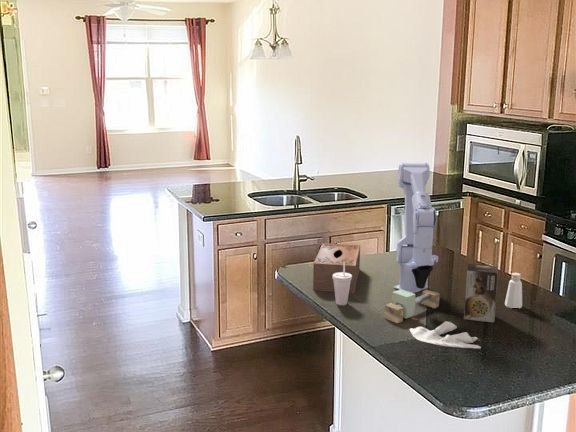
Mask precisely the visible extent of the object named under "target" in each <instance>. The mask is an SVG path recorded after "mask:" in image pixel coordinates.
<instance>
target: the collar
mask: <svg viewBox="0 0 576 432" xmlns="http://www.w3.org/2000/svg"><path fill="white" fill-rule="evenodd" d="M415 298H416V293H411V292H408V291H405V290H402V289H400V290H399V289H396V290H395V291H392V296H391V303H392V304H394V305H398V304H402V305H403V319H410V318H409V317H414V316H415V308H416V307H415V306H416V305H415Z"/></svg>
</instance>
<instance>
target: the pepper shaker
mask: <svg viewBox="0 0 576 432" xmlns="http://www.w3.org/2000/svg"><path fill="white" fill-rule="evenodd" d="M521 278H522V277H521V273H518V272H512V273H511V279H510V280H509V282H508V287H507V291H506V296H505V301H504V305H505V306H506V308H510V309H512V308H519V309H521V308H523V282H522V281H521Z"/></svg>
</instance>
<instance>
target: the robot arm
mask: <svg viewBox="0 0 576 432" xmlns="http://www.w3.org/2000/svg"><path fill="white" fill-rule="evenodd" d="M430 171H431V170H430V165H429V164H428V162H424V163H422V162H421V163H419V162H416V163H415V162H400V163H399V166H398V173H397V174H398V181H397V182H398V187H399V188H401V189H402V190H403V193H404V236H403V237H402V238H400V239H399V240H397V243H396V252H395V258H396V259H395V260H396V262H397V264H399V283H398V284H396V285H394V286H393V288H394V289H396V290H400V289H402V290H405V291H408V292H411V293H413V294H416V293H418V292H422V291H424V290H427V289H428V288H429V287H428V285H427V281H428V278H429V276H430V274H431V273H432V271H433V269H434V265H435V263H439V256H438V255H435V254H433V241H434V240H433V239H434V228H435V227H436V225H437V212H436V209H435V208H434V206H432V202H431V196H430V194H429V193H428V192H426V185H427V183H428V181H429V178H430V173H431V172H430Z"/></svg>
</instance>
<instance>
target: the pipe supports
mask: <svg viewBox="0 0 576 432" xmlns="http://www.w3.org/2000/svg"><path fill="white" fill-rule="evenodd" d="M421 292H422V293H421V295H424V294H427V293H429V294H430V295H431V298H430V299H429V300H426V301H424V302H421V303H420V304H421V305H423V304H424V306H425V307H429V308H432V309H436V308H439V306H440V293H439V292H436V291H432V290H429V289H423V290H421ZM390 307H391V308H392V309H394V310H391V308H390ZM389 309H390V310H389ZM393 311H394V313H393ZM391 312H392V313H393V314H391ZM384 319H385V320H388V321H390V322H393V323H396V324H399V323H401V322H403V320H404V318H403V307H400V306H397V305H394V304H392V302H389V303H387V304H384ZM408 319H410V320H414V321H416V322H417V321H419V318H415V317H414V316H412V317H409V318H408Z"/></svg>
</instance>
